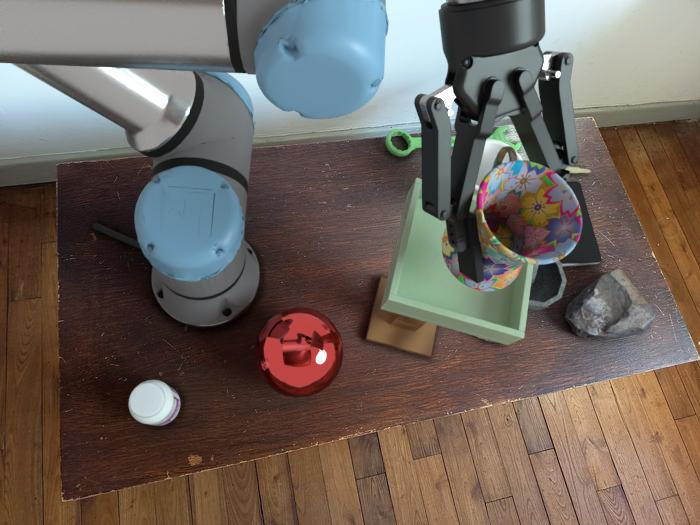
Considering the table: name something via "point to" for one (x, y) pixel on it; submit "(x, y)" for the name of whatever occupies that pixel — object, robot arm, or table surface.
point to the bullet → (577, 170)
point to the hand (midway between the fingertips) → (507, 258)
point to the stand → (399, 328)
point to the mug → (519, 221)
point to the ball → (298, 352)
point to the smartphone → (583, 236)
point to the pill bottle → (154, 403)
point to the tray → (448, 283)
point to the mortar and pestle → (546, 285)
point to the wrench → (416, 141)
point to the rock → (610, 309)
